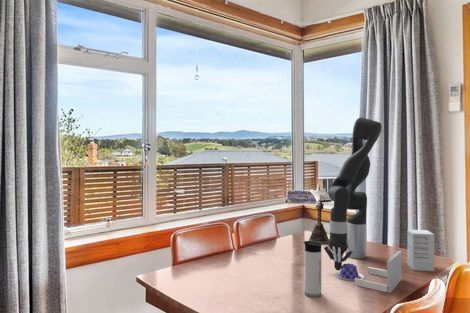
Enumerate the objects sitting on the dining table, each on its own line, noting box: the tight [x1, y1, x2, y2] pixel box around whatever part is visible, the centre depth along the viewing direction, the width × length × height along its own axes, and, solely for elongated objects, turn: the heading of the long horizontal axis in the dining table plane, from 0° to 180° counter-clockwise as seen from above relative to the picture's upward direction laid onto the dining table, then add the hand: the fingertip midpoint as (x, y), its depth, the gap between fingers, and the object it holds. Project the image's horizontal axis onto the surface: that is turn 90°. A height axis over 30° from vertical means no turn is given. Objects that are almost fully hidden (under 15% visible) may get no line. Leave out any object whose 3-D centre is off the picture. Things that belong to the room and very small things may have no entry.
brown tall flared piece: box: [308, 183, 334, 245], centre depth 209 cm, size 17×13×35 cm
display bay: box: [354, 250, 403, 294], centre depth 146 cm, size 14×18×12 cm
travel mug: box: [303, 240, 322, 298], centre depth 134 cm, size 6×7×20 cm
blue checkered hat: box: [334, 262, 365, 282], centre depth 153 cm, size 12×12×5 cm
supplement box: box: [406, 229, 435, 272], centre depth 164 cm, size 10×9×17 cm
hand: (338, 269), depth 157 cm, fingers closed
